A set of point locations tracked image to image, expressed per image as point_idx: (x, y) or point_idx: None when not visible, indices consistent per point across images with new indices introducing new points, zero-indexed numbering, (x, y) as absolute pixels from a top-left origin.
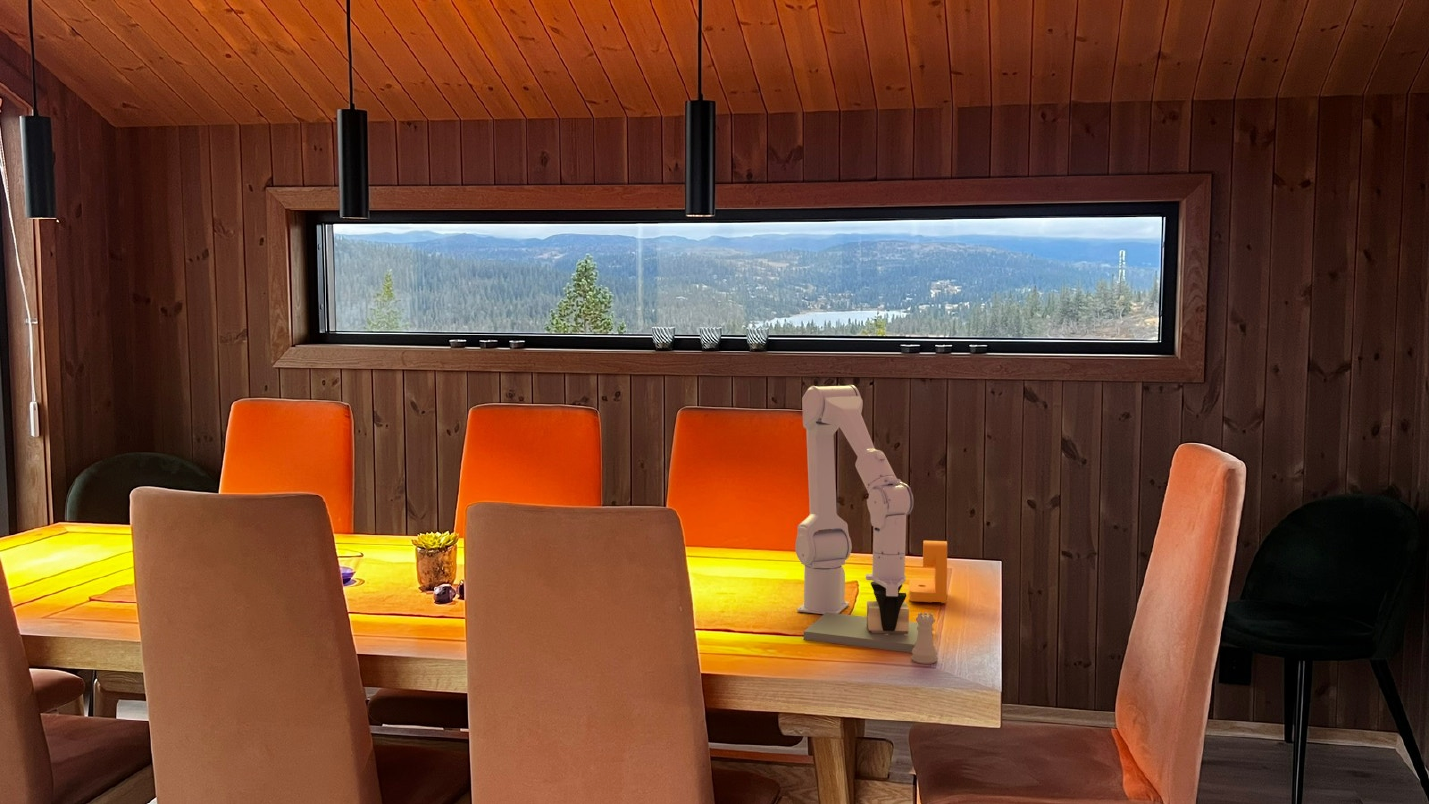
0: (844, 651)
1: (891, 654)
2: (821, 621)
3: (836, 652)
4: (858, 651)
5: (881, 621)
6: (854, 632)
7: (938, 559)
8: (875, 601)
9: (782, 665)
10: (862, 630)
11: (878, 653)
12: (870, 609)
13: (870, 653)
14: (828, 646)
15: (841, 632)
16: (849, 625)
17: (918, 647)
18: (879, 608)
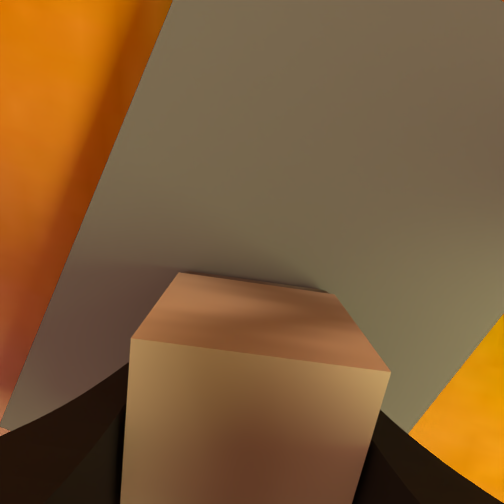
0: (26, 97)
1: (2, 310)
2: (467, 29)
3: (3, 46)
4: (33, 171)
5: (127, 363)
6: (203, 193)
7: None
8: (363, 434)
9: None
10: (239, 246)
11: (11, 258)
12: (135, 341)
13: (6, 222)
14: (111, 22)
15: (205, 112)
16: (347, 195)
17: None
18: (74, 418)
